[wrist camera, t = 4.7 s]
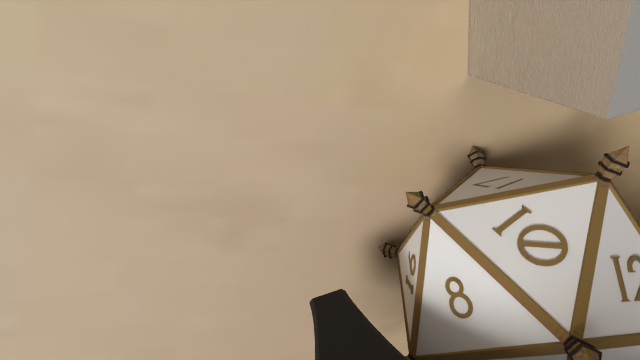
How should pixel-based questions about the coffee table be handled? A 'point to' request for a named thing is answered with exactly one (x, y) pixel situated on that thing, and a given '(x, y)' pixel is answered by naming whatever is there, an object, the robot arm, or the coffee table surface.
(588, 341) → the game die
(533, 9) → the press frame
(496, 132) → the coffee table surface
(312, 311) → the robot arm
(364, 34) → the coffee table surface
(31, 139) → the coffee table surface
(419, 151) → the coffee table surface
